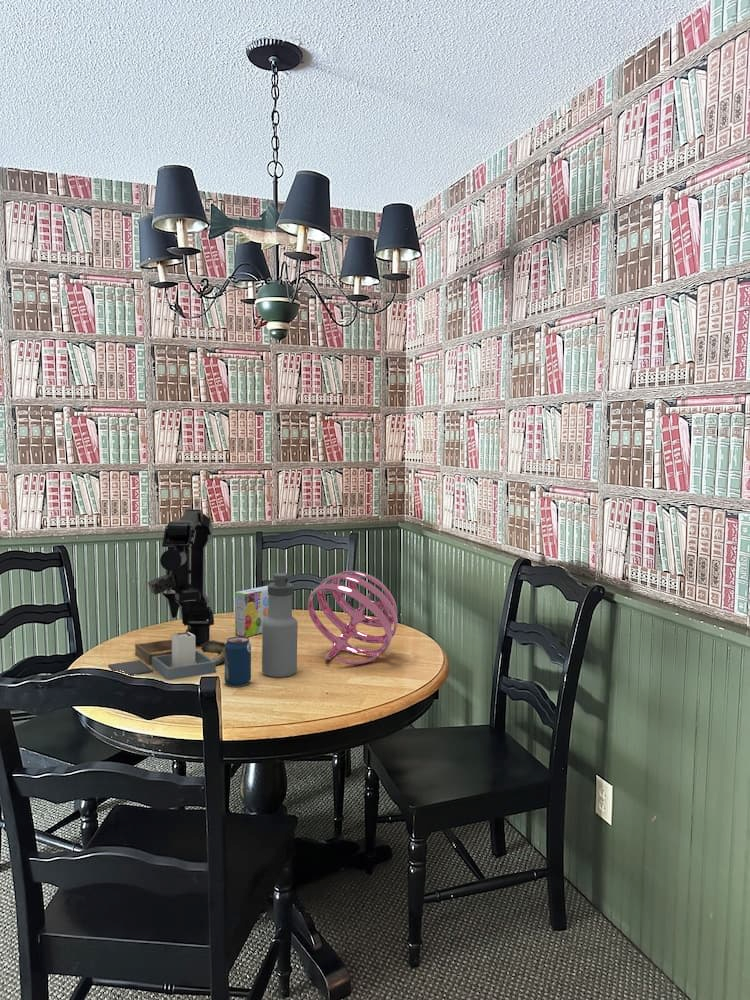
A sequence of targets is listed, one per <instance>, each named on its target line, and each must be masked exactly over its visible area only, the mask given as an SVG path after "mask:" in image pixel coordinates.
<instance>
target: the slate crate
mask: <svg viewBox="0 0 750 1000" xmlns="http://www.w3.org/2000/svg"><path fill="white" fill-rule="evenodd" d="M212 659H213V658H211V657H209V656H207V655H206V654H204V652H201V651H199V649H198V650H195V661H197V662H196V663H195V664H192V665H185V666H179V667H172V654H169V655H162V656H155V657H152V665H151V668H152V667H153V668H154V669H153V670H155V671H156V672H157V673H158V672H159V673H158V674H160V675H161V676H162V677H163V678H165V680H168V681H169V680H176V679H182V678H183V679H184V678H188V677H189V678H191V677H195V676H201V674H202V675H207V674H208V675H209V674H214V673H216V671H217V665H216V662H215V661H214V660H212ZM170 666H171V667H170ZM213 672H214V673H213Z"/></svg>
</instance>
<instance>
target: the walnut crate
mask: <svg viewBox="0 0 750 1000" xmlns="http://www.w3.org/2000/svg"><path fill="white" fill-rule="evenodd" d="M134 646H135V647H134V651H135V652H134V654H135V655H136V654H137V655H138V656H139V657H138V656H137V655H136V656H137V657H138V658H139V659H141V660H142V659H143V660H144V661H143V660H142V661H143V662H144V663H145V664H146V665H148V664H149V666H152V657H155V656H162V655H169V654H172V650H171V649H172V639H165V640H158V641H150V642H143V643H134ZM164 650H166V651H164ZM156 651H159V652H156ZM149 652H151V653H149Z"/></svg>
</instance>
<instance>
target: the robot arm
mask: <svg viewBox="0 0 750 1000" xmlns="http://www.w3.org/2000/svg"><path fill="white" fill-rule="evenodd" d="M213 529H214V528H213V522H212V519H211V518H210V516H209V517H208V515H206V514H204V511H203V510H202V509H200V508H199V509H198V508H197V509H196V508H188V509H185V511H184V514H183V515H182V516H181V517H180V518H178V520H171V521H168V523H167V525H165V528H164V534H163V539H162V543H161V544H162V545H161V547H163V548H167V549H166V550H165V551H163V552H162V554H161V556H160V561H159V562H160V565H161V567H162V568H163V569H164V570H165V575H161V576H159V577H156V578H154V579H152V580H151V579H150V581H148V582H147V585H148V588H149V590H150V593H151V594H154V595H156V596H157V595H159V594H161V596H162V597H164V598H165V599H166V601H167V604H168V607H169V611H170V616H171V618H172V619H175V618H177V616H178V612H179V610H180V617H181V622H182V625H183V626H184V627H185V626H187V629H185V632H190V633H192V634H193V635H195V647H199V646H202V645H203V644H204V643H205V642H208V641H211V640H210V638H211V637H210V629H211V628H210V626H213V625H214V624H215V617H214V611H213V610H212V606H211V603H210V599H209V598H208V596H207V593H206V547H207V546H208V544H209V543H210V541H211V539H212V537H211V536H212V535H213V531H214V530H213Z"/></svg>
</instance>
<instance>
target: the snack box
mask: <svg viewBox="0 0 750 1000" xmlns="http://www.w3.org/2000/svg"><path fill="white" fill-rule="evenodd" d="M234 605H235V607H234V611H235V612H234V614H235V617H234V618H235V620H234V621H235V623H234V624H235V628H234V629H235V636H237V635H240V636H239V637H242V636H243V637H247V638H249V637H248V636H250V637H252V636H251V635H253V636H256V635H255V634H257V635H260V634H259V633H261V634H262V625H263V621H264V619H265V618H267V617H268V609H269V596H268V585H265V586H258V587H253V588H250V589H244V590H239V591H235V592H234Z"/></svg>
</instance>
